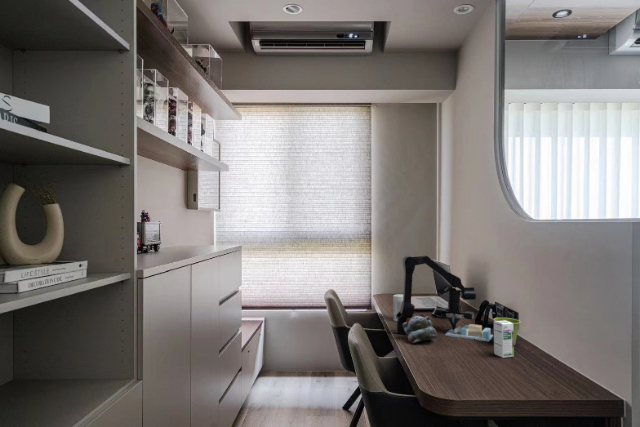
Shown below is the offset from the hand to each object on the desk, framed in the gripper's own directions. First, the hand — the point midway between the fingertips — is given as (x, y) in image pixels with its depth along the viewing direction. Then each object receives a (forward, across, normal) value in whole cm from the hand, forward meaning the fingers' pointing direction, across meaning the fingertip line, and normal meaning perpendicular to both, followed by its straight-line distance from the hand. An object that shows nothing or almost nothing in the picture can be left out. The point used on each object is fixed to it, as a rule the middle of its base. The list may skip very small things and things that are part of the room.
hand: (454, 330), depth 217 cm
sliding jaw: (+1, -4, 0) cm, 4 cm away
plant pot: (+2, -26, +6) cm, 27 cm away
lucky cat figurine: (+2, +11, +23) cm, 26 cm away
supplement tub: (+2, +33, -13) cm, 36 cm away
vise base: (+2, -7, 0) cm, 8 cm away
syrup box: (+2, -27, +25) cm, 37 cm away
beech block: (+1, -10, 0) cm, 10 cm away
